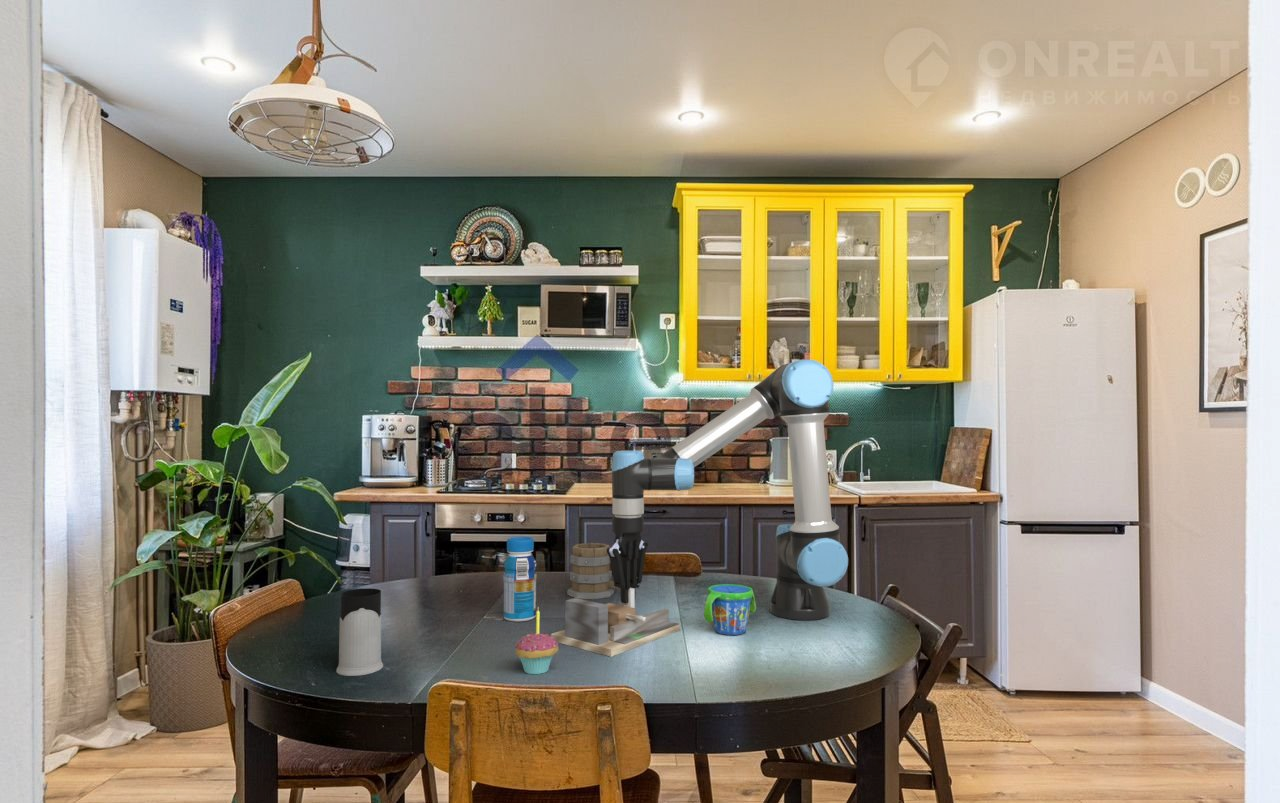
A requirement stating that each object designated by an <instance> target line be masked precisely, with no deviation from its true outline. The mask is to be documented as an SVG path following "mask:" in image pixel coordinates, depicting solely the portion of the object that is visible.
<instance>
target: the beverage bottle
mask: <svg viewBox="0 0 1280 803" xmlns="http://www.w3.org/2000/svg"><path fill="white" fill-rule="evenodd" d="M534 541H535V540H534V537H531V536H514V537H513V536H512V537H509V538H507V541H506V551H507V553H508V555H507V557H506V559H505V560H504V563H503V568H504V573H503V574H502V575H503V576H502V579H503V618H504V620H506V621H508V622H519V623H520V622H521V623H522V622H527V621H531V620H534V619H536V611H537V605H536V604H537V579H538V573H537V571H536V568H537V561H536V559H535V557H534V555H533V553H532V552H534V549H535V548H534V547H535V542H534Z"/></svg>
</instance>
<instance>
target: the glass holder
mask: <svg viewBox="0 0 1280 803" xmlns="http://www.w3.org/2000/svg"><path fill="white" fill-rule="evenodd" d="M381 605H382V591H381V590H380V589H379V588H371V587H370V588H366V587H365V588H355V589H349V590H347V591H343V592H341V593H340V616H339V630H338V631H339V634H338V635H339V640H338V642H339V643H338V647H339V648H338V664H337V665H338V666H337V667H336V671H335V672H336V673H337V674H338V675H340V676H347V677H351V676H352V677H353V676H354V677H355V676H364V675H369V674H373V673H375V672H378V671H380V670H382V669H383V668H384V663H383V662H382V618H383V616H382V606H381Z"/></svg>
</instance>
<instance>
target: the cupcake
mask: <svg viewBox="0 0 1280 803" xmlns="http://www.w3.org/2000/svg"><path fill="white" fill-rule="evenodd" d="M539 609H540V608H539V606H537V610H536V617H535V619H536V620H535V632H533V633H528V634H526V635H524V636H522V637H520V639H518V640H517V642H516V643H515V655H516V656H517V657H518V658H519V660H520V662H521V664H522V668H523V671H524V672H525V674H529V675H541V673H542V674H545V673H546V672H548V671H549V669H550V665H551V662H552V659H553V656H554V655H556V654H557V653H558V652H559V650H560V648H559V643H558V642H557V641H556V640H555V638H553V637H552V636H551V635H550V634H547V633H541V632H540V614H541V613H540V612H541V611H540V610H539Z"/></svg>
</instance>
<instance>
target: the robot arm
mask: <svg viewBox="0 0 1280 803" xmlns="http://www.w3.org/2000/svg"><path fill="white" fill-rule="evenodd" d="M833 391H834V379H833V376H832V374H831V372H830V370H829V369H828V368H827V366H825V365H824V364H823V363H821V362H819V361H817V360H815V359H798V360H794V361H791V362H789V363H786V364H782V365H780V366H779V367H777V368H776V369H775V370H774V371H772V372H771V373H770V374H769V375H768V376H766V377H765V378H764V379H763V380H762V381H760V382H759V383H757V385H755V386H753V387H752V388H751V389H750V392H749V394H748V395H746V397H744V398H743V399H741V400H739V401H738V402H737V403H735V404H734V405H732V406H731V407H729V408H728V409H727V410H725V411H724V412H722V413H721V414H719V415H718V416H716V417H715V418H713V419H712V420H710V421H709V422H707V423H705V424H704V425H703V426H702V427H700V428H699V429H697V430H696V431H694V432H692V433H691V434H690V435H688V436H687V437H685V438H684V439H682V440H681V441H680V442H678V443H676V444H675V445H673V446H672V447H671V448H669V449H668V450H666V451H665V452H663V453H662V454H660V455H656V456H655V457H653V458H645V456H644V452H643V451H642V450H616V451H614V453H613V454H612V464H611V490H612V491H611V497H612V511H611V512H612V514H613V517H611V525H612V526H611V528H612V529H611V530H612V533H613V534H615V535H614V539H613V545H612V546H611V547H610V548H607V553H608V555H609V557H610V567H611V568H610V569H611V571H612V580H613V581H614V586H615V587H617V588H619V589H620V603H621V604H622V606H627V607H632V608H636V607H635V606H636V603H635V601H636V589H639V588H640V584H642V582H643V574H644V566H645V560H646V552H647V550H648V547H649V543H648V542H647V541H643V539H642V535H641V533H643V532H644V528H645V524H644V523H645V522H644V521H645V519H644V517H643V515H644V513H645V503H644V502H645V501H644V500H645V499H644V498H645V497H644V495H645V494H644V491H685V490H692V488H693V487H694V484H695V467H697V466H698V465H700V464H701V463H703V462H704V461H706V460H707V459H708V458H710V457H712V456H713V455H714V454H716V453H717V452H719V451H721V450H722V449H723V448H725V447H726V446H729V444H731V443H733V441H734V442H735V440H737V439H738V438H740V437H741V436H742V435H743V436H744V434H745V433H747V432H749V431H750V430H752V429H753V428H754V427H756V426H757V425H759V424H761V423H762V422H763V421H765V420H766V419H769V420H773V419H775V418H776V417H778V416H779V415H780V418H781V419H782V420H783V421H785V423H786V424H787V433H788V446H789V456H790V457H789V459H790V469H791V470H790V471H791V484H792V496H793V504H794V506H793V507H794V508H793V509H794V517H795V518H794V519H795V520H794V523H792V524H790V523H789V524H779V525H778V526H777V528H776V532H775V540H776V542H775V544H776V546H775V547H776V548H775V550H776V551H775V552H776V554H775V555H776V557H775V558H776V562H775V563H776V582H775V585H774V589H773V592H772V596H771V599H770V602H769V612H770V613H771V614H772V615H774V616H777V617H780V618H784V619H789V620H798V621H809V620H811V621H813V620H821V619H826V618H828V617H829V616H830V603H829V601H828V598H827V594H826V591H825V589H824V588H825V587H830V586H833V585H835V584H837V583H838V582H839V581H840V580H842V579H843V577H844V576H845V574H846V572H847V570H848V566H849V557H848V552H847V550H846V549H845V547H844V546H843V544H842V543H841V537H840V525H838V524H836V523H837V522H834V521H833V519H832V518H833V517H832V507H831V494H830V484H829V472H828V461H827V460H828V459H827V449H826V436H825V424H824V423H825V420H826V418H827V417H828V416H829V415H830V406H829V405H830V404H829V399H830V398H831V396H832V394H833Z"/></svg>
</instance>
